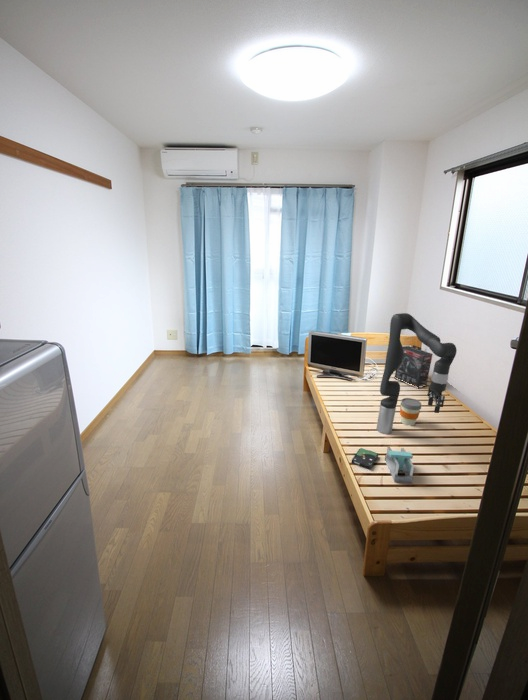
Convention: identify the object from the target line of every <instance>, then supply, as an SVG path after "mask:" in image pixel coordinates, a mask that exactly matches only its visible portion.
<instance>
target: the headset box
mask: <svg viewBox="0 0 528 700" xmlns="http://www.w3.org/2000/svg"><path fill="white" fill-rule="evenodd" d="M402 347H403V350H404V355H403V360H402V363H401V365H400V366H399V367H398V368H397V369H396V370H395V371H394V378H395V377H396V378H398V379H400V380H403V381H405V382H407V383H409V384H412V385H414V386H417V387H419V386H423V385H426V386H427V383H428V379H429V374H430V369H431V363H432V359H433V355H434V353H431V352H428V351H425V350H422V347H420V346H417V345H412V346H410V345H407V346H406V345H405V346H402Z"/></svg>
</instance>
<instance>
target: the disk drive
mask: <svg viewBox="0 0 528 700" xmlns="http://www.w3.org/2000/svg"><path fill="white" fill-rule="evenodd" d="M378 458H379V453H378V452H375V451H372V450H368V449H365V448H362V447H360V448H359V449H358V450H357V452H356V453H355V455H354V456H353V458H352V459H351V464H353V465H355V466H358V467H359V468H364V469H366V470H369V471H371V469H372V468H373V466H374V464H375V462H376V461H377V459H378Z"/></svg>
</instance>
